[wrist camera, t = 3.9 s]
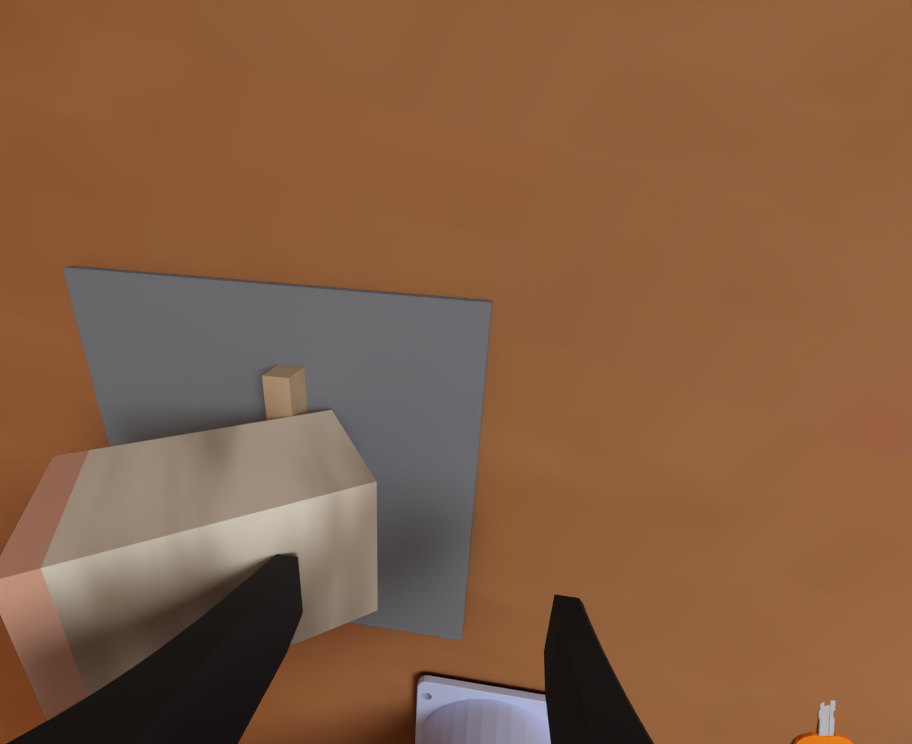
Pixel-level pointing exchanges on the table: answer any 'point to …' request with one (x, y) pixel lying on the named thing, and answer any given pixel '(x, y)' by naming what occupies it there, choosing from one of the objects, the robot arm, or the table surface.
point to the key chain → (824, 729)
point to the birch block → (182, 544)
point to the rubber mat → (313, 398)
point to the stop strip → (284, 391)
